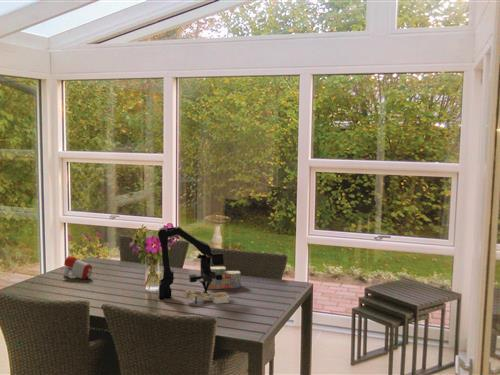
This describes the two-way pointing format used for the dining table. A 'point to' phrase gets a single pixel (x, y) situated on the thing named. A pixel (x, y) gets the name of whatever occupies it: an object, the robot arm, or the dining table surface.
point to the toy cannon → (77, 268)
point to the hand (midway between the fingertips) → (205, 292)
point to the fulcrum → (198, 301)
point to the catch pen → (220, 298)
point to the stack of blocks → (225, 279)
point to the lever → (194, 295)
